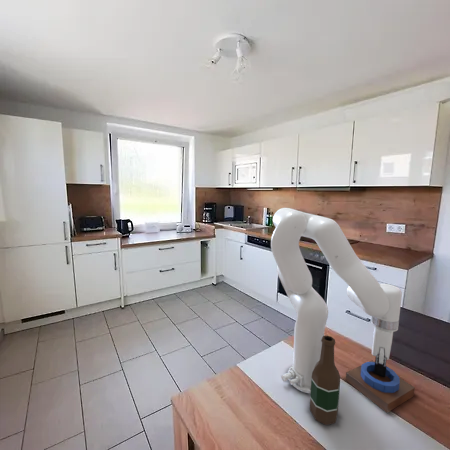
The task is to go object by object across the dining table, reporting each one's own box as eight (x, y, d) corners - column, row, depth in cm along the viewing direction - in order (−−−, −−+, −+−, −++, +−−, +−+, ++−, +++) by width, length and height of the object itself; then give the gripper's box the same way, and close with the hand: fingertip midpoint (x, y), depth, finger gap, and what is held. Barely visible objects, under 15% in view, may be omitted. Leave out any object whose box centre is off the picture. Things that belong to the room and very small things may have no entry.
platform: (387, 413, 72) (388, 404, 71) (345, 380, 84) (346, 372, 84) (414, 396, 78) (415, 387, 77) (371, 367, 90) (372, 360, 90)
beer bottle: (341, 428, 67) (347, 348, 63) (311, 423, 68) (316, 345, 65) (334, 404, 74) (339, 332, 71) (307, 400, 76) (311, 328, 73)
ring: (385, 397, 73) (386, 390, 73) (353, 373, 83) (354, 367, 82) (406, 385, 78) (406, 378, 78) (373, 364, 87) (374, 358, 87)
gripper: (373, 308, 90) (369, 353, 93) (369, 329, 77) (365, 381, 79) (398, 314, 86) (392, 361, 89) (399, 337, 72) (392, 392, 75)
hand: (379, 370), depth 84 cm, fingers open, 4 cm apart
